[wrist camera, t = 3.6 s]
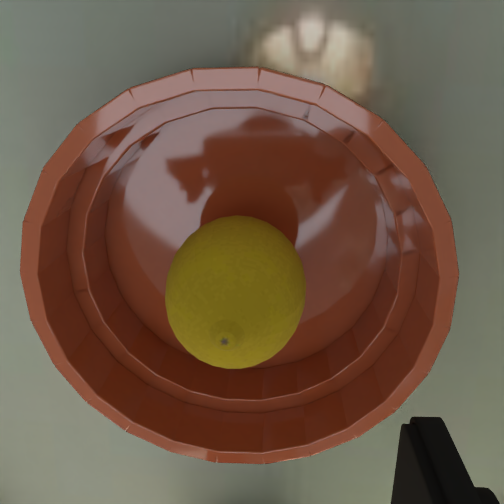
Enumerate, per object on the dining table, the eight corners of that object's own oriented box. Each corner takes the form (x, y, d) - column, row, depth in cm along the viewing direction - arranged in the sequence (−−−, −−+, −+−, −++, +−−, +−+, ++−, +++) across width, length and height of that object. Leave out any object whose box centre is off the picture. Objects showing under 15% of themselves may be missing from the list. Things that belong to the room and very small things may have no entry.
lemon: (226, 171, 21) (195, 228, 13) (325, 237, 22) (347, 324, 14) (166, 263, 23) (110, 358, 15) (259, 320, 23) (250, 436, 16)
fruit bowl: (437, 63, 19) (494, 61, 14) (398, 388, 25) (428, 470, 20) (52, 72, 20) (-26, 72, 15) (104, 381, 26) (61, 458, 21)
